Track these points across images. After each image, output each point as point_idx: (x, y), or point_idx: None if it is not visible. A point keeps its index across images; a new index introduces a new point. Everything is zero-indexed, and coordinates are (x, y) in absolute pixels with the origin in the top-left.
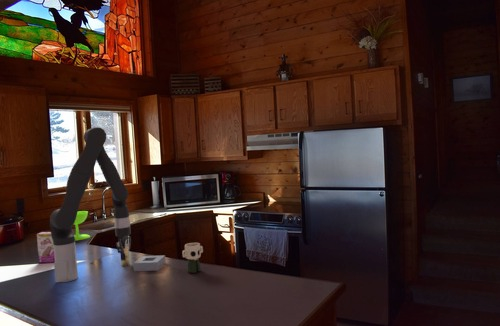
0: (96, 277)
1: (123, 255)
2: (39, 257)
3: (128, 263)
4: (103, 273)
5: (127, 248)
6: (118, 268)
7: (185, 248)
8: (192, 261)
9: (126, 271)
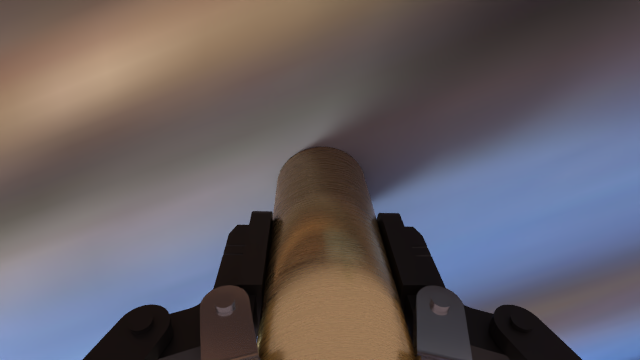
0: (635, 284)
1: (432, 269)
2: None
3: (339, 160)
4: (543, 276)
5: (365, 324)
6: (430, 213)
7: None
8: None
9: (595, 82)
